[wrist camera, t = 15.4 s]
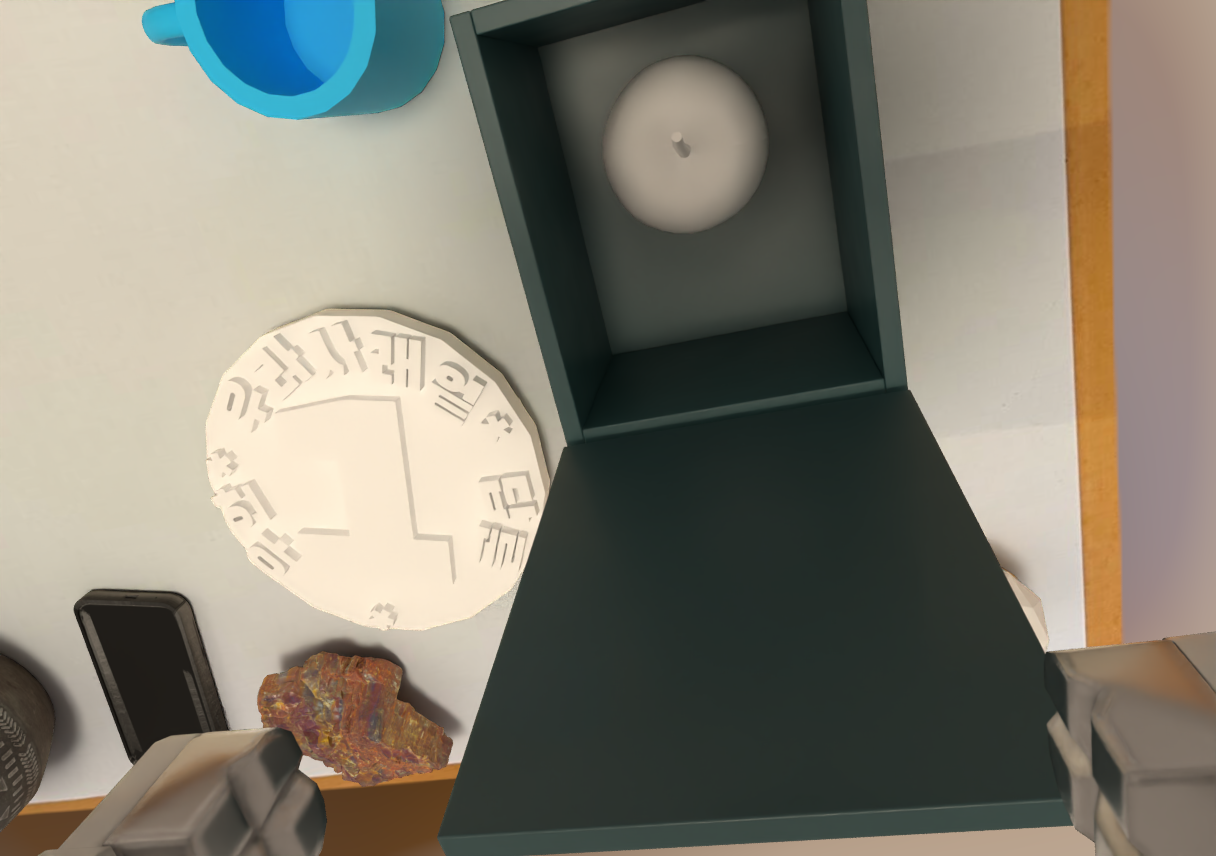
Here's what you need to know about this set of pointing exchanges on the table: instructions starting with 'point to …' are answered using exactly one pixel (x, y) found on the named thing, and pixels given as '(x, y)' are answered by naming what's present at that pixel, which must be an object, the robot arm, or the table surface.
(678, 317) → the chest
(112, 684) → the phone
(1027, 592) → the ornament
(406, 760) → the mineral specimen
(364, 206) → the table surface
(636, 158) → the plain white apple
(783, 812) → the lid
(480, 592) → the giant coin
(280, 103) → the mug
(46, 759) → the planter
